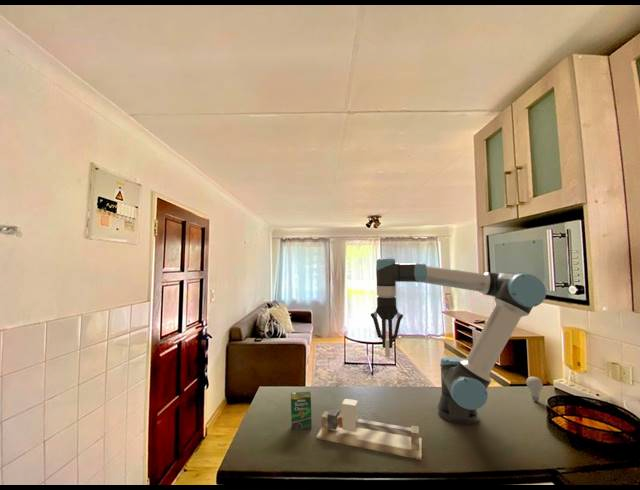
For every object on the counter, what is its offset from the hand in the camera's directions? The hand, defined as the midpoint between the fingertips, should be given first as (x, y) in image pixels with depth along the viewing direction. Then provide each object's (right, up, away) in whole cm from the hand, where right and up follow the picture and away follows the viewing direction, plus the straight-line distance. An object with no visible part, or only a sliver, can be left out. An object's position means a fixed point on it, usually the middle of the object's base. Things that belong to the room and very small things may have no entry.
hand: (387, 356), depth 116 cm
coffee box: (-34, -27, -4) cm, 44 cm away
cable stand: (-10, -26, -11) cm, 30 cm away
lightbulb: (+72, -28, +17) cm, 79 cm away
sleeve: (-16, -23, -9) cm, 29 cm away
